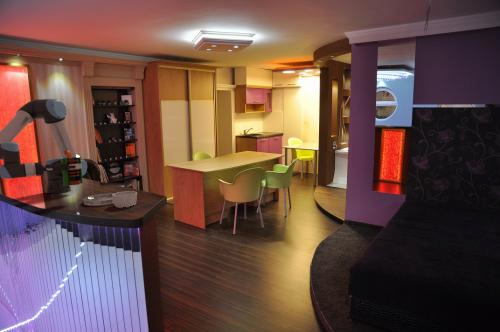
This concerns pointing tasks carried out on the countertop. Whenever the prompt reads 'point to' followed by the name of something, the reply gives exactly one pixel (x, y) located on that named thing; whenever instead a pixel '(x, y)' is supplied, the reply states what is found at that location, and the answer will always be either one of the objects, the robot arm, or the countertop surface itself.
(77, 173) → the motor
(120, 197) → the ramekin
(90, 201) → the tray
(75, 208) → the countertop surface
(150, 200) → the countertop surface
